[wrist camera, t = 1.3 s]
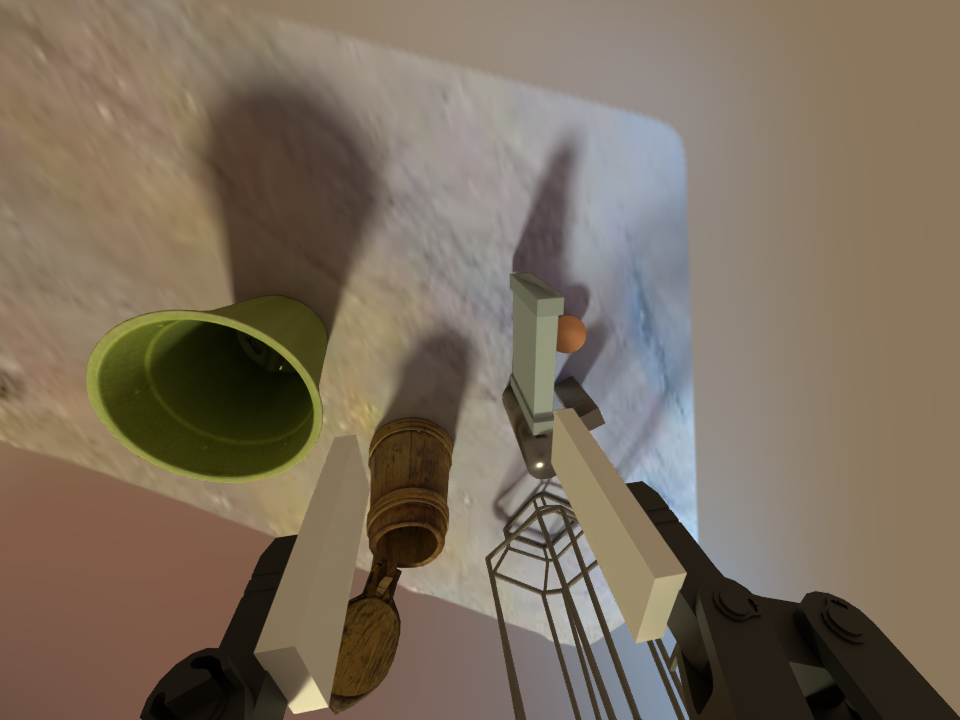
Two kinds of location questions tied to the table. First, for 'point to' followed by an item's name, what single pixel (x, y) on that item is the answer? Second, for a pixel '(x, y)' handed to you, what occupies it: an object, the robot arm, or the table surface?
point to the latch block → (579, 402)
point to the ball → (570, 334)
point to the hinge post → (529, 439)
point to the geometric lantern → (570, 617)
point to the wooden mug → (393, 547)
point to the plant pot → (214, 388)
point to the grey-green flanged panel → (535, 348)
